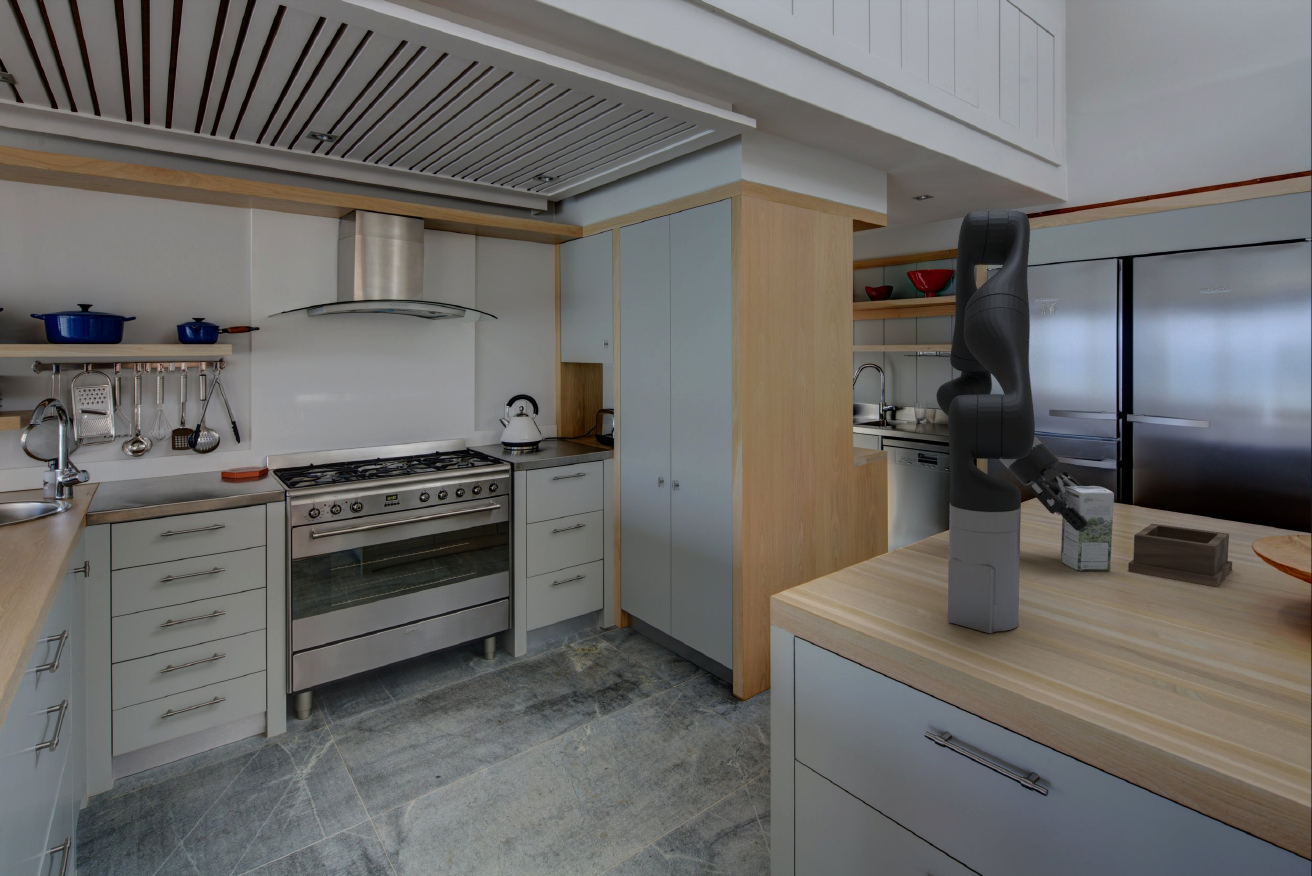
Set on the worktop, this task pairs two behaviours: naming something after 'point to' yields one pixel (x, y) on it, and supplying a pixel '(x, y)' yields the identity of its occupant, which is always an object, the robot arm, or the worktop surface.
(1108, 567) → the syrup box
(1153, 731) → the worktop surface
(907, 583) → the worktop surface
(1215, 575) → the holder
